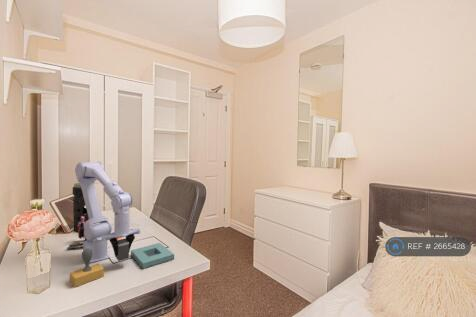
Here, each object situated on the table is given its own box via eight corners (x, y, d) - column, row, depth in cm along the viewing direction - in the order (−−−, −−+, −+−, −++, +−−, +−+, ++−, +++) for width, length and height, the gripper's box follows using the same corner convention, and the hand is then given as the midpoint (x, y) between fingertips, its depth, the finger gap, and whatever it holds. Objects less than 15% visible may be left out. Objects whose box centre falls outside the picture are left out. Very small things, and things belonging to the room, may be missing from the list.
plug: (118, 261, 98) (118, 244, 97) (115, 256, 102) (115, 240, 101) (128, 258, 100) (128, 242, 100) (125, 253, 104) (125, 238, 104)
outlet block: (143, 269, 99) (143, 263, 99) (130, 255, 111) (130, 250, 111) (174, 259, 108) (174, 254, 108) (159, 247, 120) (159, 242, 120)
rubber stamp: (98, 271, 97) (98, 242, 96) (104, 276, 93) (103, 246, 92) (69, 281, 89) (69, 250, 89) (74, 288, 85) (74, 255, 85)
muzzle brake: (69, 230, 141) (77, 234, 135) (69, 183, 140) (76, 185, 134) (87, 225, 149) (94, 229, 143) (86, 181, 148) (94, 183, 142)
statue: (74, 244, 125) (74, 215, 125) (94, 242, 127) (94, 214, 128) (66, 250, 114) (66, 219, 115) (88, 248, 117) (88, 217, 118)
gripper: (104, 228, 92) (105, 262, 93) (142, 221, 102) (142, 252, 103) (100, 223, 98) (101, 255, 98) (137, 217, 107) (137, 246, 108)
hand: (121, 253), depth 101 cm, fingers closed on plug, 4 cm apart
